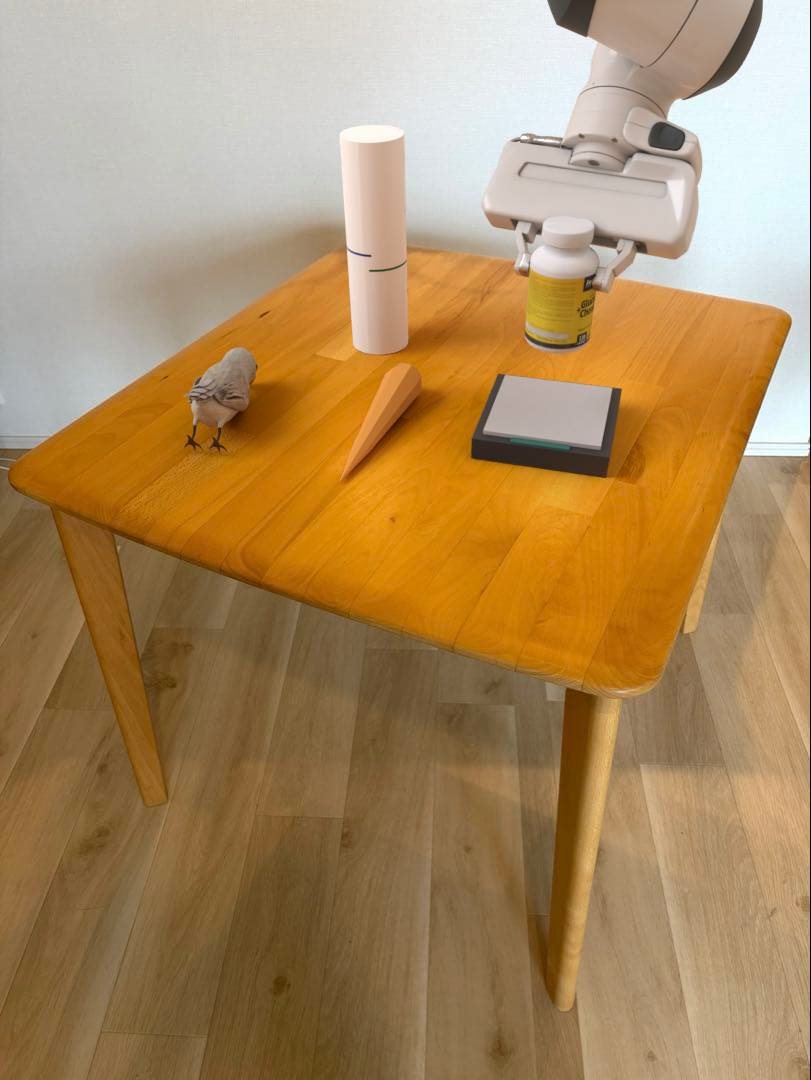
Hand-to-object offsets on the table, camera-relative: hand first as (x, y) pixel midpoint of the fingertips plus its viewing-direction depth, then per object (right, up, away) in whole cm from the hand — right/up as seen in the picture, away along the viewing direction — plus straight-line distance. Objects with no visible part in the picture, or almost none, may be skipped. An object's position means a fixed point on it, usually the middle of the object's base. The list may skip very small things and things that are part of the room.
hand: (560, 281), depth 80 cm
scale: (+1, -13, +12) cm, 18 cm away
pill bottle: (0, -5, +5) cm, 7 cm away
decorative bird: (-35, -11, +16) cm, 40 cm away
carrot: (-18, -13, +13) cm, 26 cm away
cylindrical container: (-18, +1, +30) cm, 34 cm away
